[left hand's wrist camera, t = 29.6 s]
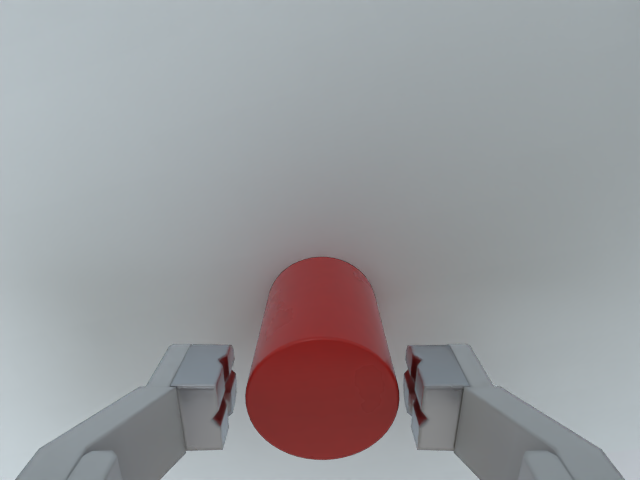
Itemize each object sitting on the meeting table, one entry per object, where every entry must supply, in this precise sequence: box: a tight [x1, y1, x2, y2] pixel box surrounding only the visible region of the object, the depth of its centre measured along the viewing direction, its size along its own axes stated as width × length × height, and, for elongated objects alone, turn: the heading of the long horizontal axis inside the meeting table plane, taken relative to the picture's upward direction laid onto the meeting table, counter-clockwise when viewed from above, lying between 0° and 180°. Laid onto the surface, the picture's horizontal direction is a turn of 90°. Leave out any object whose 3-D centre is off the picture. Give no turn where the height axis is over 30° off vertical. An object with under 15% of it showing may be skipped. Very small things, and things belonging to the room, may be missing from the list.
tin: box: [245, 257, 399, 460], centre depth 11 cm, size 4×4×4 cm
